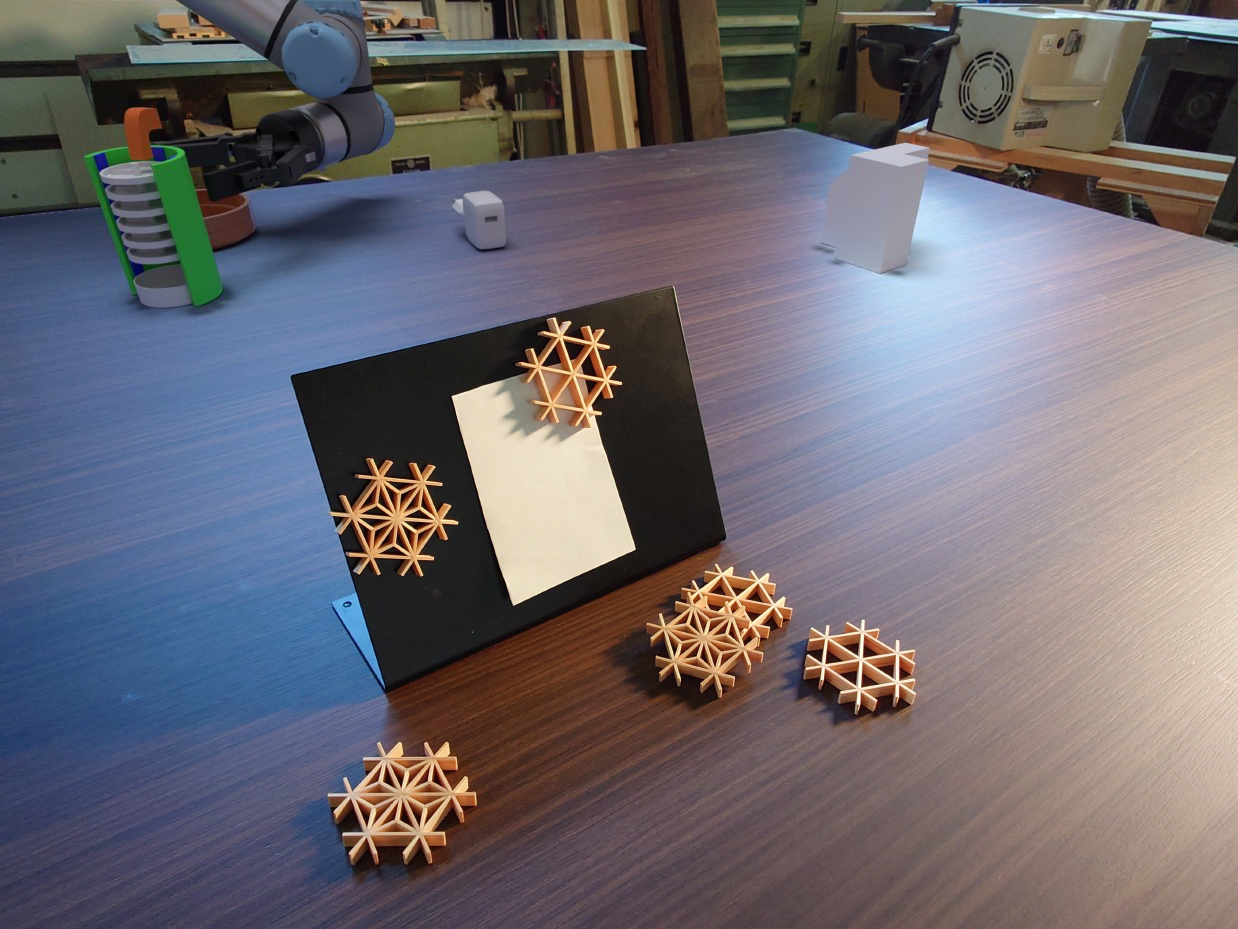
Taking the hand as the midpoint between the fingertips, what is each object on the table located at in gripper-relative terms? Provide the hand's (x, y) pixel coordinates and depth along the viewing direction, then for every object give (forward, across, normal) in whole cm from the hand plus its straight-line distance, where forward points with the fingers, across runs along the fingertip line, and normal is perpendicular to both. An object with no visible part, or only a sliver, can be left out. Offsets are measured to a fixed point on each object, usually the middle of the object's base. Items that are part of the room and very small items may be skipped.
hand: (159, 180), depth 85 cm
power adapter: (-25, -23, -10) cm, 35 cm away
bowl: (-10, +9, -10) cm, 17 cm away
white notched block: (-41, -69, -10) cm, 81 cm away
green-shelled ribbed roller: (+5, -4, -10) cm, 12 cm away
